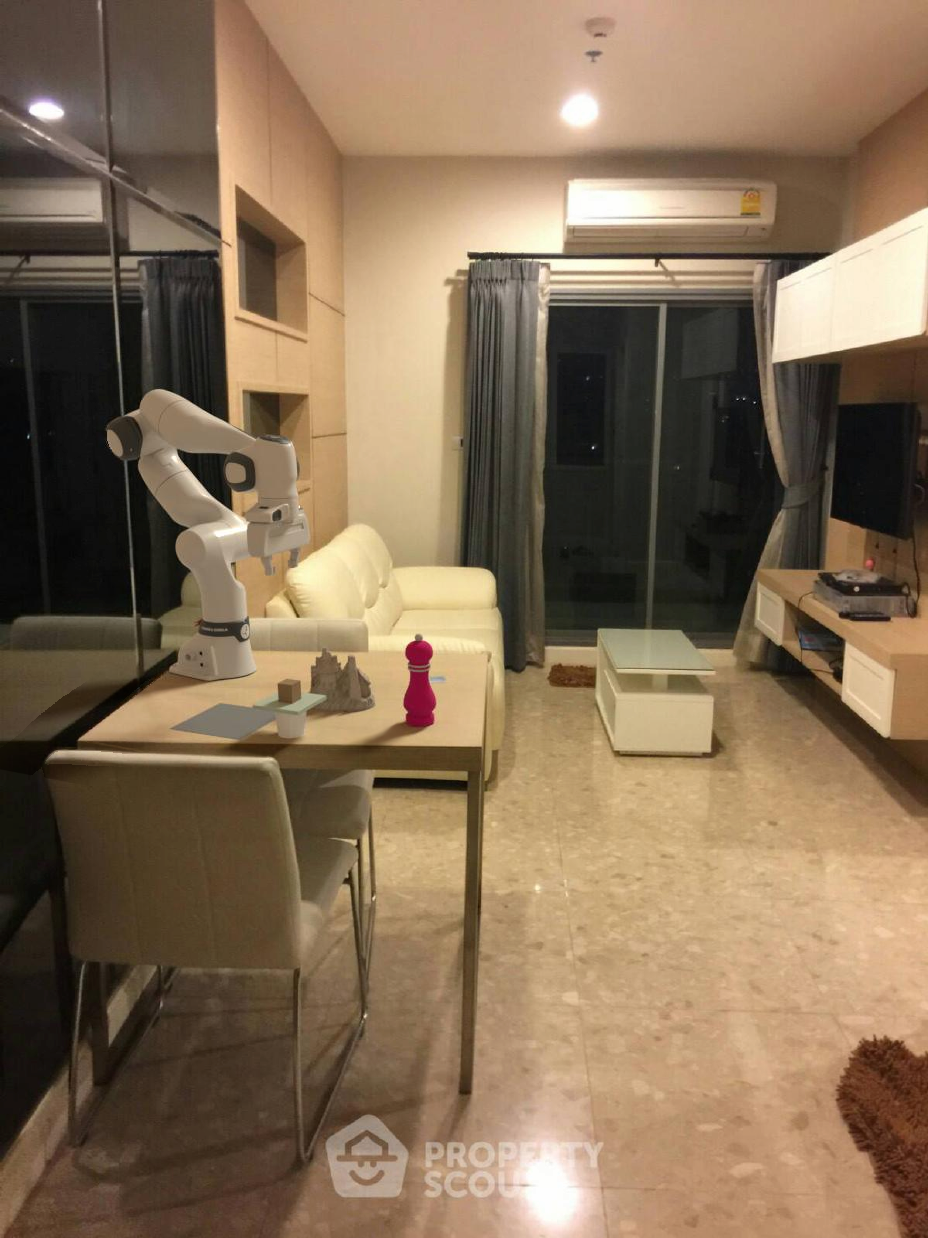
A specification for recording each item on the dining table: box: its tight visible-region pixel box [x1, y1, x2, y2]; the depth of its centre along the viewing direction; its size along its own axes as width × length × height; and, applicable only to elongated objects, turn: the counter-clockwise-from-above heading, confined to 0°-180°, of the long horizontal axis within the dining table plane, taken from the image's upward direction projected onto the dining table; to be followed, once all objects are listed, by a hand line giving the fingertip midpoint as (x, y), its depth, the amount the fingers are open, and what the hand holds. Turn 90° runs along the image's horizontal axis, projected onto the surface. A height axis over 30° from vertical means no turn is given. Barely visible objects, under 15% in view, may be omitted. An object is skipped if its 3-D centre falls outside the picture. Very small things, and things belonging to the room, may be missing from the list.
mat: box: [169, 702, 276, 741], centre depth 202 cm, size 18×18×1 cm
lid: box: [251, 678, 327, 715], centre depth 192 cm, size 11×11×5 cm
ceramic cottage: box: [308, 646, 376, 713], centre depth 215 cm, size 16×16×15 cm
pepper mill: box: [402, 633, 437, 728], centre depth 200 cm, size 7×7×20 cm
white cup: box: [275, 711, 307, 739], centre depth 194 cm, size 7×7×7 cm
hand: (281, 571), depth 208 cm, fingers open, 8 cm apart
